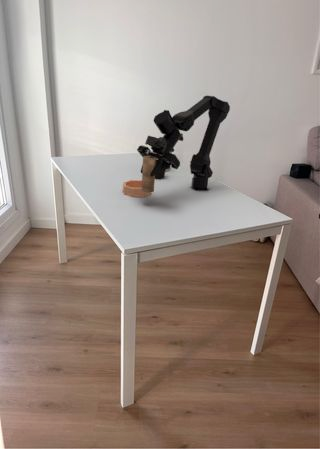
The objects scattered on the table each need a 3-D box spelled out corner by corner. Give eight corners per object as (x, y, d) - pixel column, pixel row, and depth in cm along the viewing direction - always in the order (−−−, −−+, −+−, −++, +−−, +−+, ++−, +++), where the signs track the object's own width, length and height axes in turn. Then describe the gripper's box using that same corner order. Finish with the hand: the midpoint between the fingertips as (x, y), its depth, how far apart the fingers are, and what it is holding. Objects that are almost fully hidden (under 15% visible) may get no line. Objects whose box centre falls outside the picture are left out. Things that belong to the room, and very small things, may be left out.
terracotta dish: (148, 187, 145) (149, 179, 144) (153, 197, 134) (154, 189, 133) (121, 187, 143) (121, 179, 141) (124, 197, 132) (124, 189, 130)
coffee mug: (164, 180, 156) (166, 160, 152) (147, 178, 157) (148, 158, 153) (168, 174, 166) (170, 155, 162) (152, 172, 168) (153, 153, 163)
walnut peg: (152, 188, 127) (154, 155, 121) (155, 192, 123) (157, 158, 117) (140, 188, 126) (142, 155, 120) (142, 192, 122) (144, 158, 116)
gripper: (141, 123, 123) (118, 156, 120) (177, 132, 111) (153, 167, 109) (154, 142, 131) (133, 173, 129) (189, 152, 120) (167, 185, 117)
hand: (146, 174), depth 120 cm, fingers closed on walnut peg, 5 cm apart
